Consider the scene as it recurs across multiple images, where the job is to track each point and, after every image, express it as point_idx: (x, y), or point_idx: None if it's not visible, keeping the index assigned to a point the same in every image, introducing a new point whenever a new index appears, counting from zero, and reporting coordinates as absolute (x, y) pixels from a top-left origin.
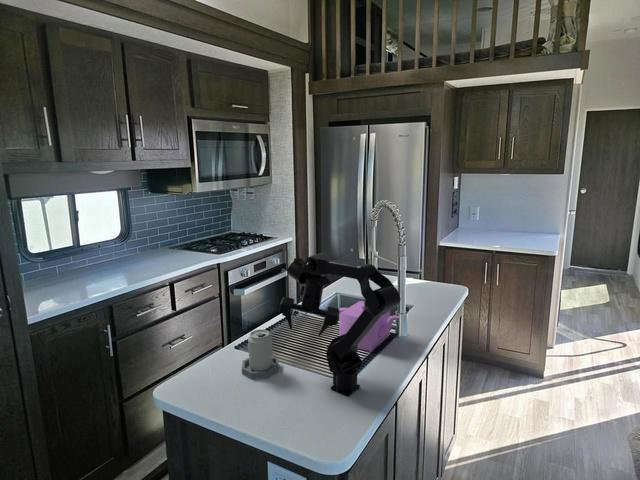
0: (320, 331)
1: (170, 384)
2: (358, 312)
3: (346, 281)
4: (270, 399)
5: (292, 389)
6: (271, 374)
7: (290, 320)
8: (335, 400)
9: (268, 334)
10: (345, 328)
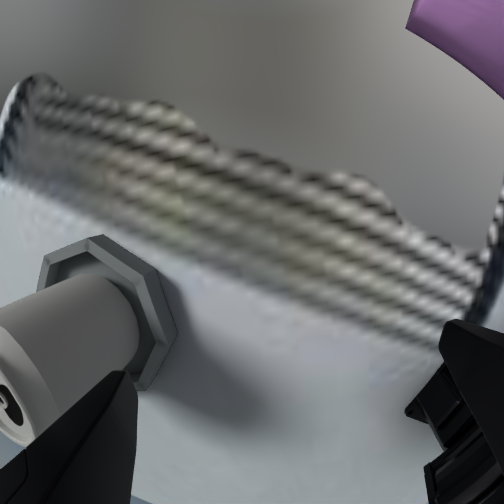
0: (479, 421)
1: None
2: None
3: None
4: (214, 467)
5: (269, 431)
6: (159, 367)
7: None
8: (408, 446)
9: (29, 423)
10: (473, 6)
